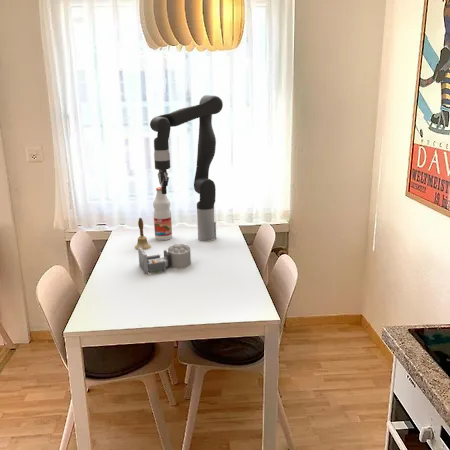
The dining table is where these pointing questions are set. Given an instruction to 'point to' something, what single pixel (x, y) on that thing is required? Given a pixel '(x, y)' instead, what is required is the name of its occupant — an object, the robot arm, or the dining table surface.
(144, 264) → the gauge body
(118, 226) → the dining table surface
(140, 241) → the hand bell
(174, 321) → the dining table surface
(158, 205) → the fruit juice
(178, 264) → the paw print stamp
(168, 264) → the grey boxy piece
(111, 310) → the dining table surface
